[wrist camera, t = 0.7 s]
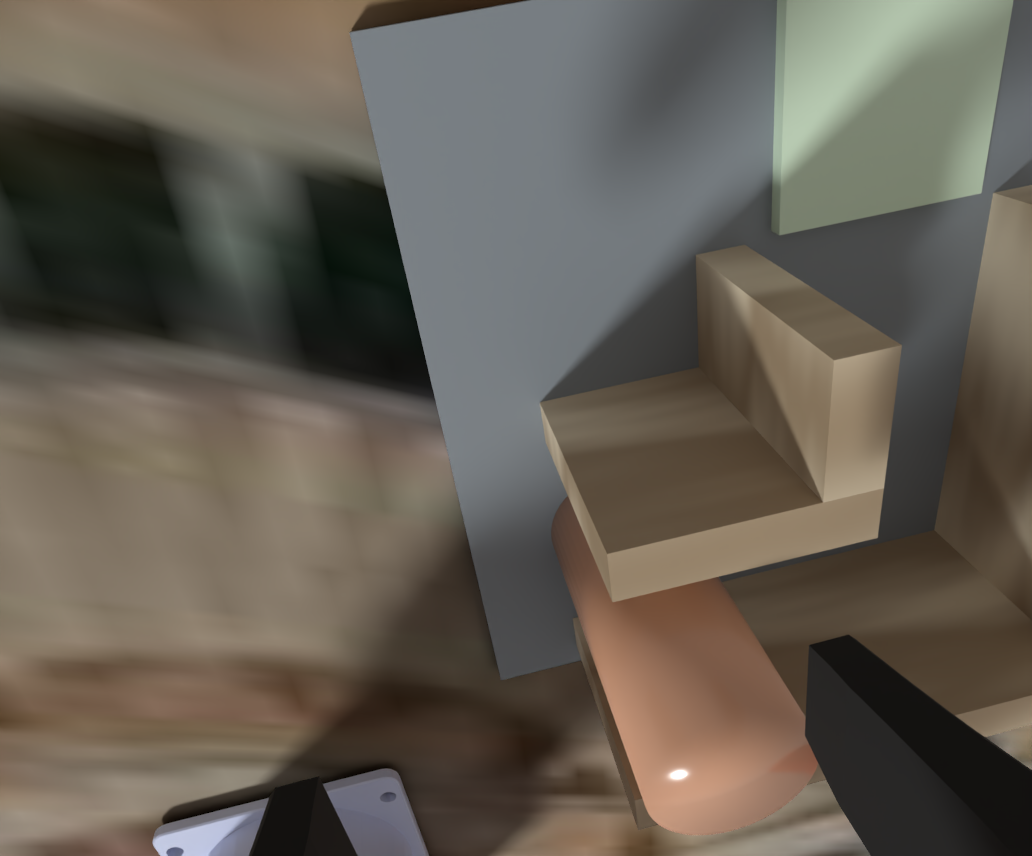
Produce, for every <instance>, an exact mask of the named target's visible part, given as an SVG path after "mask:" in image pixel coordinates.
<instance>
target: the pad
mask: <svg viewBox="0 0 1032 856" xmlns="http://www.w3.org/2000/svg"><path fill="white" fill-rule="evenodd" d="M1013 1H1014V0H777V24H776V63H775V102H774V141H773V180H772V219H771V231H772V232H774V233H776V234H778V235H784V234H789V233H793V232H798V231H803V230H808V229H813V228H817V227H822V226H827V225H832V224H837V223H841V222H846V221H851V220H856V219H861V218H865V217H870V216H875V215H880V214H885V213H889V212H894V211H899V210H904V209H909V208H913V207H918V206H923V205H928V204H933V203H938V202H942V201H947V200H952V199H957V198H962V197H966V196H971V195H976V194H981V192H982V186H983V180H984V174H985V168H986V162H987V156H988V150H989V144H990V138H991V132H992V126H993V120H994V114H995V108H996V102H997V97H998V91H999V85H1000V79H1001V73H1002V67H1003V61H1004V55H1005V49H1006V43H1007V37H1008V31H1009V25H1010V19H1011V13H1012V7H1013Z"/></svg>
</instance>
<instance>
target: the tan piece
mask: <svg viewBox="0 0 1032 856" xmlns="http://www.w3.org/2000/svg"><path fill="white" fill-rule="evenodd" d="M696 281H697V318H698V355H699V367H697V368H693V369H688V370H684V371H679V372H675V373H670V374H666V375H661V376H657V377H652V378H648V379H643V380H639V381H634V382H629V383H625V384H620V385H616V386H611V387H607V388H602V389H598V390H593V391H589V392H584V393H580V394H575V395H571V396H566V397H561V398H557V399H552V400H548V401H543V402H540V408H541V415H542V421H543V428H544V434H545V441H546V444H547V447H548V449H549V452H550V454H551V456H552V459H553V461H554V464H555V466H556V468H557V471H558V473H559V475H560V478H561V480H562V483H563V485H564V487H565V490H566V492H567V495H568V497H569V499H570V502H571V504H572V507H573V509H574V511H575V514H576V516H577V519H578V521H579V523H580V526H581V528H582V531H583V533H584V535H585V538H586V540H587V543H588V545H589V547H590V550H591V552H592V555H593V557H594V559H595V562H596V564H597V567H598V569H599V571H600V574H601V576H602V578H603V581H604V583H605V586H606V588H607V590H608V593H609V595H610V598H611V600H612V602H617V601H621V600H625V599H629V598H633V597H637V596H641V595H645V594H649V593H653V592H658V591H662V590H666V589H670V588H674V587H678V586H682V585H686V584H690V583H695V582H699V581H703V580H707V579H711V578H715V577H719V576H723V575H727V574H731V573H736V572H740V571H744V570H748V569H752V568H756V567H760V566H764V565H768V564H773V563H777V562H781V561H785V560H789V559H793V558H797V557H801V556H805V555H809V554H814V553H818V552H822V551H826V550H830V549H834V548H838V547H842V546H846V545H851V544H855V543H859V542H863V541H867V540H871V539H875V538H878V531H879V523H880V515H881V507H882V499H883V491H884V483H885V475H886V467H887V459H888V452H889V444H890V436H891V428H892V420H893V412H894V404H895V396H896V388H897V380H898V372H899V364H900V356H901V349H902V345H901V344H899V343H898V342H896V341H894V340H893V339H891V338H890V337H888V336H887V335H885V334H884V333H882V332H880V331H879V330H877V329H876V328H874V327H873V326H871V325H869V324H868V323H866V322H865V321H863V320H862V319H860V318H859V317H857V316H855V315H854V314H852V313H851V312H849V311H848V310H846V309H844V308H843V307H841V306H840V305H838V304H837V303H835V302H834V301H832V300H830V299H829V298H827V297H826V296H824V295H823V294H821V293H819V292H818V291H816V290H815V289H813V288H812V287H810V286H809V285H807V284H805V283H804V282H802V281H801V280H799V279H798V278H796V277H794V276H793V275H791V274H790V273H788V272H787V271H785V270H783V269H782V268H780V267H779V266H777V265H776V264H774V263H773V262H771V261H769V260H768V259H766V258H765V257H763V256H762V255H760V254H758V253H757V252H755V251H754V250H752V249H751V248H749V247H748V246H746V245H741V246H736V247H731V248H726V249H722V250H717V251H712V252H707V253H702V254H698V255H696ZM722 583H723V585H724V587H725V588H726V590H727V591H728V593H729V595H730V596H731V598H732V600H733V601H734V603H735V604H736V606H737V608H738V609H739V611H740V612H741V614H742V616H743V617H744V619H745V620H746V622H747V624H748V625H749V627H750V629H751V630H752V632H753V633H754V635H755V637H756V638H757V640H758V641H759V643H760V645H761V646H762V648H763V649H764V651H765V653H766V654H767V656H768V658H769V659H770V661H771V662H772V664H773V666H774V667H775V669H776V670H777V672H778V674H779V675H780V677H781V678H782V680H783V682H784V683H785V685H786V687H787V688H788V690H789V691H790V693H791V695H792V696H793V698H794V699H795V701H796V703H797V704H798V706H799V707H800V709H801V711H802V712H803V714H804V716H805V717H806V697H807V676H808V654H809V645H811V644H815V643H818V642H822V641H826V640H830V639H833V638H837V637H841V636H845V635H848V634H849V635H850V636H852V637H853V638H855V639H856V640H858V641H859V642H860V643H861V644H863V645H864V646H865V647H866V648H868V649H869V650H870V651H872V652H873V653H874V654H875V655H877V656H878V657H879V658H881V659H882V660H883V661H884V662H886V663H887V664H888V665H889V666H891V667H892V668H893V669H895V670H896V671H897V672H898V673H900V674H901V675H902V676H904V677H905V678H906V679H907V680H909V681H910V682H911V683H913V684H914V685H915V686H917V687H918V688H919V689H920V690H922V691H923V692H924V693H926V694H927V695H928V696H930V697H931V698H932V699H934V700H935V701H936V702H938V703H939V704H940V705H942V706H943V707H944V708H946V709H947V710H948V711H950V712H951V713H952V714H954V715H955V716H956V717H958V718H959V719H960V720H962V721H963V722H964V723H966V724H967V725H969V726H970V727H971V728H973V729H974V730H976V731H977V732H978V733H980V734H981V735H983V736H984V737H987V736H991V735H994V734H998V733H1002V732H1006V731H1009V730H1013V729H1017V728H1021V727H1024V726H1028V725H1032V185H1029V186H1024V187H1019V188H1014V189H1009V190H1005V191H1000V192H995V193H993V197H992V203H991V209H990V214H989V220H988V226H987V231H986V237H985V243H984V249H983V254H982V260H981V266H980V271H979V277H978V283H977V289H976V294H975V300H974V306H973V311H972V317H971V323H970V329H969V334H968V340H967V346H966V352H965V357H964V363H963V369H962V374H961V380H960V386H959V392H958V397H957V403H956V409H955V414H954V420H953V426H952V432H951V437H950V443H949V449H948V454H947V460H946V466H945V472H944V477H943V483H942V489H941V495H940V500H939V506H938V512H937V517H936V523H935V529H934V530H933V531H929V532H925V533H920V534H916V535H912V536H908V537H904V538H900V539H896V540H892V541H888V542H884V543H880V544H875V545H871V546H867V547H863V548H859V549H855V550H851V551H847V552H843V553H839V554H834V555H830V556H826V557H822V558H818V559H814V560H810V561H806V562H802V563H798V564H794V565H789V566H785V567H781V568H777V569H773V570H769V571H765V572H761V573H757V574H753V575H749V576H744V577H740V578H736V579H732V580H728V581H724V582H722ZM573 624H574V631H575V637H576V644H577V648H578V651H579V654H580V657H581V660H582V663H583V666H584V669H585V672H586V675H587V678H588V681H589V684H590V687H591V690H592V693H593V696H594V699H595V702H596V705H597V708H598V711H599V714H600V717H601V720H602V723H603V726H604V729H605V732H606V735H607V738H608V741H609V744H610V747H611V750H612V753H613V756H614V759H615V762H616V765H617V768H618V771H619V774H620V777H621V780H622V783H623V786H624V789H625V792H626V795H627V798H628V801H629V804H630V807H631V810H632V813H633V816H634V819H635V822H636V825H637V828H638V830H641V829H644V828H648V827H652V826H656V825H659V824H657V823H656V822H655V821H654V820H653V819H652V818H651V816H650V815H649V814H648V812H647V809H646V807H645V804H644V801H643V799H642V796H641V793H640V790H639V787H638V784H637V782H636V779H635V776H634V773H633V770H632V767H631V765H630V762H629V759H628V756H627V753H626V750H625V748H624V745H623V742H622V739H621V736H620V733H619V731H618V728H617V725H616V722H615V719H614V716H613V714H612V711H611V708H610V705H609V702H608V700H607V697H606V694H605V691H604V688H603V685H602V683H601V680H600V677H599V674H598V671H597V668H596V666H595V663H594V660H593V657H592V654H591V651H590V649H589V646H588V643H587V640H586V637H585V634H584V632H583V629H582V626H581V623H580V620H579V617H577V618H573ZM823 780H826V778H825V776H824V774H823V772H822V770H821V768H820V766H819V764H818V765H817V768H816V770H815V772H814V774H813V776H812V778H811V779H810V781H809V782H808V783H807V785H808V784H812V783H816V782H819V781H823Z"/></svg>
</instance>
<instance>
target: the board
mask: <svg viewBox="0 0 1032 856" xmlns="http://www.w3.org/2000/svg"><path fill="white" fill-rule="evenodd" d="M776 24H777V0H525V1H519V2H513V3H508V4H502V5H497V6H491V7H485V8H480V9H474V10H468V11H463V12H457V13H452V14H446V15H440V16H435V17H429V18H423V19H418V20H412V21H407V22H401V23H395V24H390V25H384V26H379V27H373V28H367V29H362V30H356V31H350V37H351V41H352V46H353V50H354V54H355V58H356V63H357V67H358V71H359V75H360V80H361V84H362V88H363V93H364V97H365V101H366V105H367V110H368V114H369V118H370V122H371V127H372V131H373V135H374V140H375V144H376V148H377V152H378V157H379V161H380V165H381V169H382V174H383V178H384V182H385V187H386V191H387V195H388V199H389V204H390V208H391V212H392V216H393V221H394V225H395V229H396V234H397V238H398V242H399V246H400V251H401V255H402V259H403V263H404V268H405V272H406V276H407V281H408V285H409V289H410V293H411V298H412V302H413V306H414V310H415V315H416V319H417V323H418V328H419V332H420V336H421V340H422V345H423V349H424V353H425V357H426V362H427V366H428V370H429V375H430V379H431V383H432V387H433V392H434V396H435V400H436V404H437V409H438V413H439V417H440V422H441V426H442V430H443V434H444V439H445V443H446V447H447V451H448V456H449V460H450V464H451V469H452V473H453V477H454V481H455V486H456V490H457V494H458V498H459V503H460V507H461V511H462V516H463V520H464V524H465V528H466V533H467V537H468V541H469V545H470V550H471V554H472V558H473V563H474V567H475V571H476V575H477V580H478V584H479V588H480V592H481V597H482V601H483V605H484V610H485V614H486V618H487V622H488V627H489V631H490V635H491V639H492V644H493V648H494V652H495V657H496V661H497V665H498V669H499V674H500V678H501V680H505V679H509V678H513V677H517V676H521V675H525V674H529V673H533V672H537V671H541V670H545V669H549V668H553V667H557V666H561V665H565V664H569V663H573V662H577V661H581V657H580V654H579V651H578V648H577V644H576V637H575V631H574V624H573V618H577V617H578V615H577V612H576V609H575V606H574V603H573V601H572V598H571V595H570V592H569V589H568V586H567V584H566V581H565V578H564V575H563V572H562V569H561V567H560V564H559V561H558V558H557V555H556V552H555V550H554V547H553V543H552V539H551V527H552V522H553V519H554V516H555V514H556V512H557V510H558V508H559V506H560V505H561V503H562V502H563V501H564V499H565V498H566V497H567V496H568V495H567V492H566V490H565V487H564V485H563V483H562V480H561V478H560V475H559V473H558V471H557V468H556V466H555V464H554V461H553V459H552V456H551V454H550V452H549V449H548V447H547V444H546V441H545V434H544V428H543V421H542V415H541V408H540V402H543V401H548V400H552V399H557V398H561V397H566V396H571V395H575V394H580V393H584V392H589V391H593V390H598V389H602V388H607V387H611V386H616V385H620V384H625V383H629V382H634V381H639V380H643V379H648V378H652V377H657V376H661V375H666V374H670V373H675V372H679V371H684V370H688V369H693V368H697V367H699V355H698V318H697V281H696V255H698V254H702V253H707V252H712V251H717V250H722V249H726V248H731V247H736V246H741V245H746V246H748V247H749V248H751V249H752V250H754V251H755V252H757V253H758V254H760V255H762V256H763V257H765V258H766V259H768V260H769V261H771V262H773V263H774V264H776V265H777V266H779V267H780V268H782V269H783V270H785V271H787V272H788V273H790V274H791V275H793V276H794V277H796V278H798V279H799V280H801V281H802V282H804V283H805V284H807V285H809V286H810V287H812V288H813V289H815V290H816V291H818V292H819V293H821V294H823V295H824V296H826V297H827V298H829V299H830V300H832V301H834V302H835V303H837V304H838V305H840V306H841V307H843V308H844V309H846V310H848V311H849V312H851V313H852V314H854V315H855V316H857V317H859V318H860V319H862V320H863V321H865V322H866V323H868V324H869V325H871V326H873V327H874V328H876V329H877V330H879V331H880V332H882V333H884V334H885V335H887V336H888V337H890V338H891V339H893V340H894V341H896V342H898V343H899V344H901V345H902V349H901V356H900V364H899V372H898V380H897V388H896V396H895V404H894V412H893V420H892V428H891V436H890V444H889V452H888V459H887V467H886V475H885V483H884V491H883V499H882V507H881V515H880V523H879V531H878V538H875V539H871V540H867V541H863V542H859V543H855V544H851V545H846V546H842V547H838V548H834V549H830V550H826V551H822V552H818V553H814V554H809V555H805V556H801V557H797V558H793V559H789V560H785V561H781V562H777V563H773V564H768V565H764V566H760V567H756V568H752V569H748V570H744V571H740V572H736V573H731V574H727V575H723V576H719V579H720V580H721V582H724V581H728V580H732V579H736V578H740V577H744V576H749V575H753V574H757V573H761V572H765V571H769V570H773V569H777V568H781V567H785V566H789V565H794V564H798V563H802V562H806V561H810V560H814V559H818V558H822V557H826V556H830V555H834V554H839V553H843V552H847V551H851V550H855V549H859V548H863V547H867V546H871V545H875V544H880V543H884V542H888V541H892V540H896V539H900V538H904V537H908V536H912V535H916V534H920V533H925V532H929V531H933V530H934V529H935V523H936V517H937V512H938V506H939V500H940V495H941V489H942V483H943V477H944V472H945V466H946V460H947V454H948V449H949V443H950V437H951V432H952V426H953V420H954V414H955V409H956V403H957V397H958V392H959V386H960V380H961V374H962V369H963V363H964V357H965V352H966V346H967V340H968V334H969V329H970V323H971V317H972V311H973V306H974V300H975V294H976V289H977V283H978V277H979V271H980V266H981V260H982V254H983V249H984V243H985V237H986V231H987V226H988V220H989V214H990V209H991V203H992V197H993V193H995V192H1000V191H1005V190H1009V189H1014V188H1019V187H1024V186H1029V185H1032V0H1014V1H1013V7H1012V13H1011V19H1010V25H1009V31H1008V37H1007V43H1006V49H1005V55H1004V61H1003V67H1002V73H1001V79H1000V85H999V91H998V97H997V102H996V108H995V114H994V120H993V126H992V132H991V138H990V144H989V150H988V156H987V162H986V168H985V174H984V180H983V186H982V192H981V194H976V195H971V196H966V197H962V198H957V199H952V200H947V201H942V202H938V203H933V204H928V205H923V206H918V207H913V208H909V209H904V210H899V211H894V212H889V213H885V214H880V215H875V216H870V217H865V218H861V219H856V220H851V221H846V222H841V223H837V224H832V225H827V226H822V227H817V228H813V229H808V230H803V231H798V232H793V233H789V234H784V235H778V234H776V233H774V232H772V231H771V219H772V180H773V141H774V102H775V63H776Z"/></svg>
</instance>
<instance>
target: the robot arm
mask: <svg viewBox="0 0 1032 856" xmlns="http://www.w3.org/2000/svg"><path fill="white" fill-rule="evenodd" d="M805 737H806V739H807V741H808V743H809V745H810V747H811V749H812V751H813V753H814V756H815V758H816V760H817V762H818V764H819V766H820V768H821V770H822V772H823V774H824V776H825V778H826V780H827V782H828V784H829V786H830V788H831V790H832V792H833V794H834V796H835V798H836V800H837V802H838V803H839V805H840V807H841V809H842V810H843V812H844V813H845V815H846V817H847V818H848V820H849V821H850V823H851V825H852V826H853V828H854V829H855V831H856V833H857V834H858V836H859V837H860V839H861V840H862V842H863V844H864V845H865V847H866V848H867V850H868V852H869V853H870V855H871V856H1032V770H1031V769H1029V768H1028V767H1026V766H1025V765H1023V764H1022V763H1020V762H1019V761H1018V760H1016V759H1015V758H1013V757H1012V756H1010V755H1009V754H1008V753H1006V752H1005V751H1003V750H1002V749H1001V748H999V747H998V746H996V745H995V744H994V743H992V742H991V741H989V740H988V739H987V738H985V737H984V736H983V735H981V734H980V733H978V732H977V731H976V730H974V729H973V728H971V727H970V726H969V725H967V724H966V723H964V722H963V721H962V720H960V719H959V718H958V717H956V716H955V715H954V714H952V713H951V712H950V711H948V710H947V709H946V708H944V707H943V706H942V705H940V704H939V703H938V702H936V701H935V700H934V699H932V698H931V697H930V696H928V695H927V694H926V693H924V692H923V691H922V690H920V689H919V688H918V687H917V686H915V685H914V684H913V683H911V682H910V681H909V680H907V679H906V678H905V677H904V676H902V675H901V674H900V673H898V672H897V671H896V670H895V669H893V668H892V667H891V666H889V665H888V664H887V663H886V662H884V661H883V660H882V659H881V658H879V657H878V656H877V655H875V654H874V653H873V652H872V651H870V650H869V649H868V648H866V647H865V646H864V645H863V644H861V643H860V642H859V641H858V640H856V639H855V638H853V637H852V636H850V635H849V634H848V635H845V636H841V637H837V638H833V639H830V640H826V641H822V642H818V643H815V644H811V645H809V654H808V676H807V697H806V718H805ZM153 845H154V847H155V849H156V850H157V851H158V853H159V854H160V856H429V854H428V851H427V848H426V846H425V843H424V840H423V838H422V835H421V832H420V830H419V827H418V824H417V822H416V819H415V816H414V814H413V811H412V808H411V805H410V803H409V800H408V797H407V795H406V792H405V789H404V787H403V784H402V781H401V779H400V776H399V774H398V773H397V772H396V771H394V770H392V769H387V768H385V769H379V770H375V771H371V772H367V773H364V774H360V775H356V776H352V777H348V778H344V779H340V780H336V781H332V782H328V783H324V784H322V782H321V780H320V778H319V776H318V777H315V778H311V779H307V780H303V781H300V782H296V783H292V784H288V785H285V786H281V787H277V788H275V789H274V791H273V792H272V793H271V795H270V797H269V798H266V799H262V800H258V801H254V802H250V803H246V804H242V805H238V806H234V807H230V808H226V809H222V810H218V811H215V812H211V813H207V814H203V815H199V816H195V817H191V818H187V819H183V820H179V821H175V822H171V823H167V824H165V825H162V826H160V827H159V828H158V829H156V832H155V835H154V839H153Z"/></svg>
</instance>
